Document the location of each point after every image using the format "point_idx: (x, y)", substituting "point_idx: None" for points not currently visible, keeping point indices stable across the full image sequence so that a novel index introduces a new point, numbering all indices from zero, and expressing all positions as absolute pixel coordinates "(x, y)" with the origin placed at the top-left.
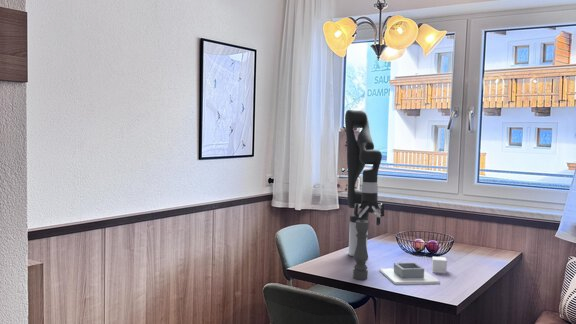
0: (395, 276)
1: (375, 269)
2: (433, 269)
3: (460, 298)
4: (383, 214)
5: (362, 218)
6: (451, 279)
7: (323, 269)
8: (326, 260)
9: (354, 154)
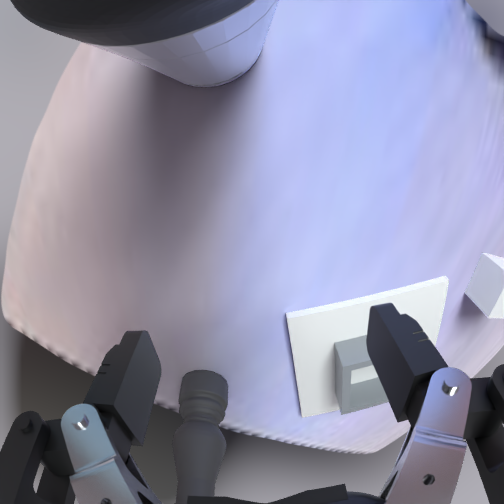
0: (321, 383)
1: (273, 296)
2: (470, 298)
3: (402, 433)
4: (486, 434)
5: (172, 10)
6: (467, 342)
7: (74, 316)
8: (54, 189)
9: None
